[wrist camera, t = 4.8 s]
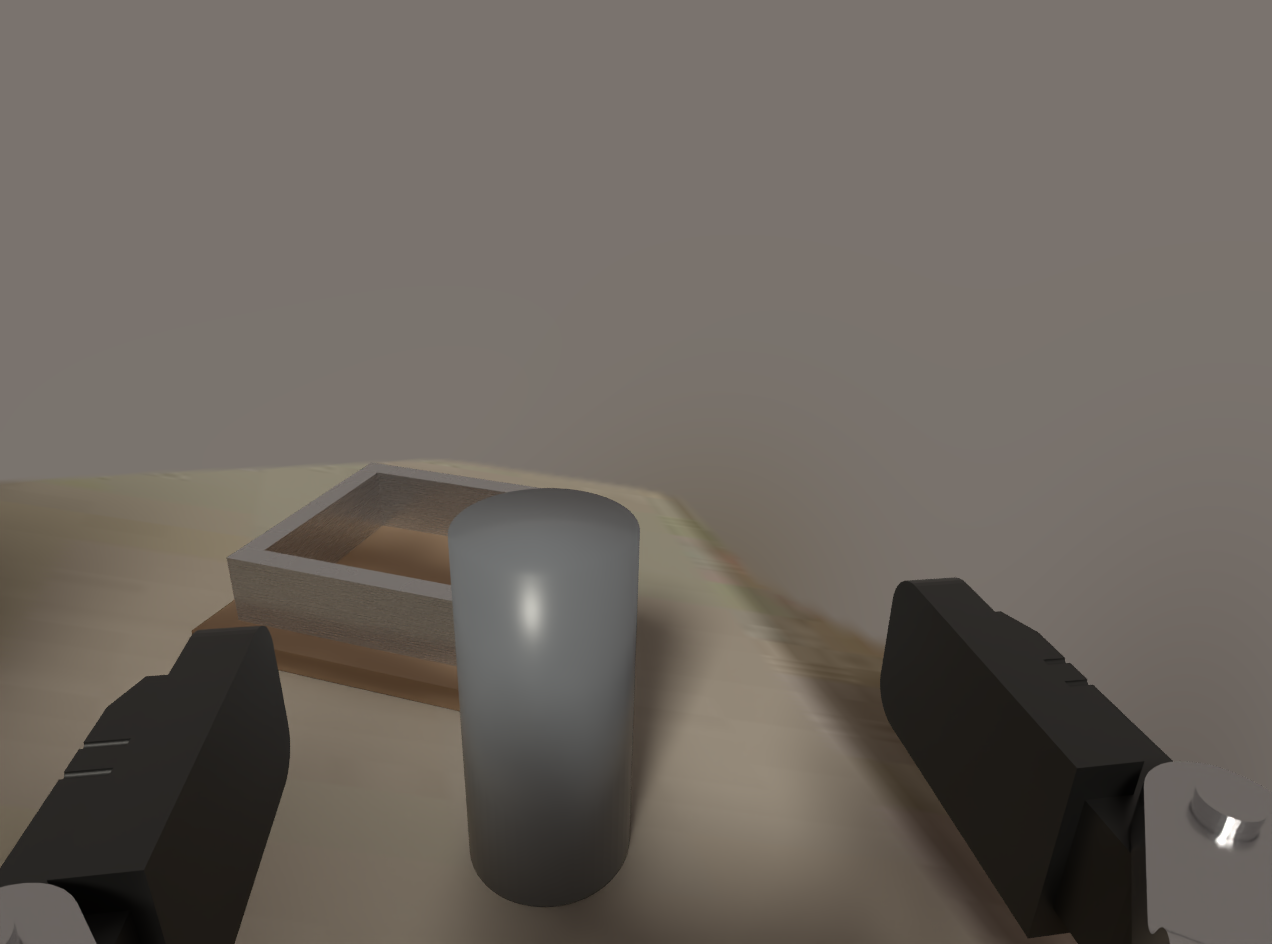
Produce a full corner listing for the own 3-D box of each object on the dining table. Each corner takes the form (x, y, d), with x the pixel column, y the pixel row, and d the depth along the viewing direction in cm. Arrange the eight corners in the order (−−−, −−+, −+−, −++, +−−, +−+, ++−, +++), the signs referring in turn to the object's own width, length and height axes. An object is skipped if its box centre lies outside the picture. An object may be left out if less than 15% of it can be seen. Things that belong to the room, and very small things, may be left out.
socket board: (482, 716, 31) (481, 694, 31) (196, 651, 34) (191, 631, 34) (593, 555, 43) (593, 538, 42) (371, 517, 46) (369, 501, 46)
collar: (466, 668, 32) (462, 602, 31) (238, 620, 35) (226, 557, 34) (562, 545, 42) (561, 491, 40) (376, 514, 44) (371, 462, 43)
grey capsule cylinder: (600, 926, 23) (605, 592, 19) (440, 881, 25) (410, 557, 20) (647, 798, 28) (660, 502, 23) (509, 764, 29) (498, 478, 25)
